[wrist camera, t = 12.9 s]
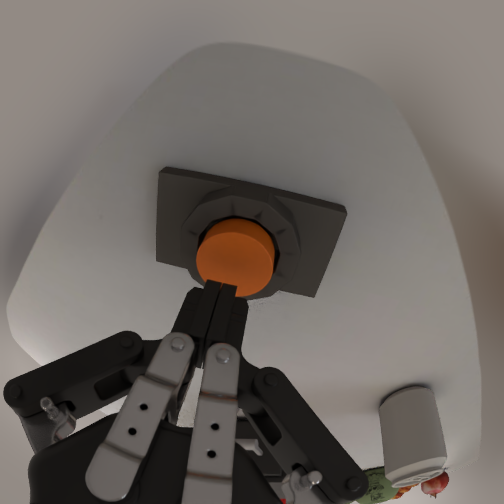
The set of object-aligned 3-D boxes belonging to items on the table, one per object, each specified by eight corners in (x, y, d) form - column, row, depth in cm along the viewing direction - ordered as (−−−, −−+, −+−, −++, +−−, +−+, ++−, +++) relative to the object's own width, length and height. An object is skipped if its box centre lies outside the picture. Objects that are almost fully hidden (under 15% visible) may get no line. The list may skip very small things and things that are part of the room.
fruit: (447, 469, 57) (450, 494, 48) (421, 478, 60) (423, 503, 52) (447, 465, 53) (451, 492, 45) (419, 475, 57) (421, 502, 48)
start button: (200, 270, 19) (193, 287, 18) (207, 210, 17) (199, 224, 15) (266, 285, 19) (263, 303, 18) (282, 227, 17) (281, 243, 15)
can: (400, 380, 28) (416, 474, 18) (443, 384, 28) (462, 465, 18) (367, 410, 32) (372, 492, 22) (409, 412, 32) (419, 486, 22)
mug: (395, 461, 46) (397, 494, 38) (404, 469, 50) (406, 497, 43) (330, 476, 52) (329, 506, 45) (348, 482, 57) (348, 509, 49)
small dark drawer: (191, 406, 34) (177, 457, 27) (277, 406, 31) (272, 465, 24) (235, 451, 42) (228, 489, 36) (299, 451, 40) (297, 491, 33)
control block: (161, 254, 22) (146, 277, 20) (165, 164, 18) (146, 178, 16) (313, 289, 22) (314, 316, 20) (345, 203, 18) (353, 224, 16)
